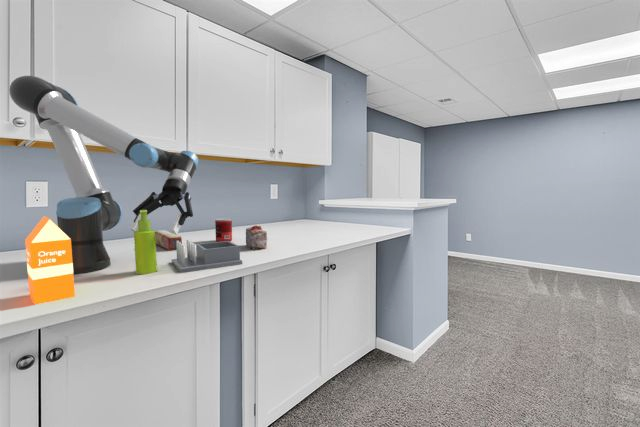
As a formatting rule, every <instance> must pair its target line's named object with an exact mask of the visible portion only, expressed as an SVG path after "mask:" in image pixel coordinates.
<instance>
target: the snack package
mask: <svg viewBox="0 0 640 427" xmlns="http://www.w3.org/2000/svg"><path fill="white" fill-rule="evenodd" d="M155 240H156V245H158V246H160V247H162V248H165V249H166V250H168V251H171V252H172V251H177V249H176V241H179V242H181V244H183V238H182V236H180V235H178V234H177V235H175V234H174V233H172V232H170V231H168V230H165V229H159V230H155Z"/></svg>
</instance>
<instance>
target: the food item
mask: <svg viewBox="0 0 640 427" xmlns="http://www.w3.org/2000/svg"><path fill="white" fill-rule="evenodd" d="M267 243H268V234H267V230H266V231H265V230H263V228H262V227H261V225H257V224H256V225H253V226H251V225H250V226H249V227H247V228H246V229H245V245H246V246H248V249H249V248H250V249H253V250H264V249H265V250H266V249H267Z"/></svg>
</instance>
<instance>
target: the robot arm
mask: <svg viewBox="0 0 640 427" xmlns="http://www.w3.org/2000/svg"><path fill="white" fill-rule="evenodd" d="M8 90H9V91H8V92H9V95H10V98H11V100H12V101H13V103H14V104H15V105H16V106H18V108H20V109H22V110H24V111H25V112H27V113H31V114H33V115H34V117H35V118H36V121H37V122H38V125H39V127H40V128H41V129H44V130H46V131H47V133H48V135H49V136H50V139H51V142H52V143H53V145H54V147H55V150H56V153H57V155H58V158H59V159H60V162H61V165H62V166H63V169H64V171H65V174H66V175H67V178H68V180H69V183H70V184H71V187H72V189H73V191H74V194H75V196H74V197H70V198H64V199H61V200H59V201H58V202H57V204H56V210H55V211H56V212H55V213H56V221H57V223H56V224H57V226H58V227H59V228H60V229H61V230H62V231H63V232H64V233H65V234H66V235H67V236H68V237H69V238H70V239H71V248H72V263H73V275H74V274H84V273H88V272H89V273H90V272H95V271H100V270H103V269H106V268H108V267H110V266H111V258H110V255H109V252H108V251H107V248H106V246H105V245H104V238H103V237H104V236H103V232H105V231H108V230H111V229H113V228H115V227H116V226H118V225H119V224H120V222H121V221H122V218H123V216H124V215H123V214H124V213H123V212H124V211H123V208H122V206H121V204H120V203H119V202H117V201H116V200H114V199H113V196H112V193H111V191H109V190H108V189H106V188H104V187H103V184H102V183H101V179H100V178H99V175H98V173H97V171H96V169H95V166H94V164H93V162H92V159H91V156H90V154H89V152H88V149H87V147H86V144H85V143H84V140H83V138H82V136H84V137H86V138H87V139H90V140H92V141H94V142H96V143H98V144H99V145H101V146H103V147H105V148H107V149H109V150H111V151H112V152H115V153H116V154H118V155H120V156H122V157H124V158H126V159H128V160H129V161H131V162H133V164H135V165H137V166H138V167H141V168H149V169H155V170H159V171H162V172H167V173H169V174H168V176H167V178H166V180H165V182H164V183H163V186H162V189H161V192H160V193H156V192H155V191H153V192H151V193H150V194H149V196H148V197H147V198H146V199H145V200H143V202H141V203H140V204H139V205H138V206H136V207H135V208H134V209H133V210H132V212H133V213H134V215H135V217H134V219H133V225H132V227H131V231H132V232H133V233H134V232H136V231H139V230H138V221H139V220H140V219H141V214H140V210H147V216H148V215H150V214H151V213H153V212H154V211H156V210H157V209H159V208H162V207H164V206H165V207H167V206H170V207H171V206H172V207H173V206H174V205H175V206H176V208H177V209H178V211H179V212H180V213H178V214H177V216H176V219H175V221H174V223H173V225H172V227H171V232H173V234H175V235H178V234H179V230H180V229H181V226H183V225H184V224H185V222H186V219H187V218H193V216H194V212H193V208H192V203H191V200H192V197H191V195H190V192H188V191H187V189H188V187H189V184H190V183H191V181H192V178H193V175H194V173H195V171H196V170H197V167H198V163H199V157H198V155H197V154H196V153H194V152H193V151H190V150H181V152H179V153H174V152H170V151H167V150H163V149H161V148H158V147H155V146H152V145H150V144H149V143H146V142H145V141H143V140H141V139H140V138H138V137H136V136H134V135H132V134H129V133H128V132H127V131H124V130H123V129H121V128H119V127H118V126H115V125H114V124H112V123H110V122H109V121H106V120H104V119H102V118H100V117H98V116H97V115H95V114H93V113H92V112H90V111H88V110H87V109H84V108H82V107H80V106H79V103H78V101H77V100H76V97H74V96H73V95H72V94H71V93H70V92H68V91H67V90H66V89H64V88H62V87H59V86H57V85H55V84H52V83H50V82H48V81H47V80H45V79H44V78H41V77H39V76H38V77H37V76H34V75H23V76H19V77H16V78H15V79H14V80H12V82H11V84H10V86H9V89H8ZM81 135H82V136H81ZM186 191H187V192H186ZM182 200H184V204H185V209H186V211H185V210H184V208H183V207H182V205H181V204H180V202H181V201H182Z"/></svg>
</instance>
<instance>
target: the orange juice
mask: <svg viewBox="0 0 640 427" xmlns="http://www.w3.org/2000/svg"><path fill="white" fill-rule="evenodd" d="M24 242H25V254H26V268H27V276H28V277H27V278H28V290H29V291H28V292H29V297H30V299H31V301H32V300H33V301H32V303H33V304H34V305H35V304H38V305H40V304H39V303H43V304H45V303H44V302H47V303H51V302H50V301H52V302H56V301H55V300H57V301H61V300H60V299H62V300H65V299H64V298H66V299H70V297H71V298H75V297H76V296H75V294H76V293H75V280H74V279H75V278H74V274H73V263H72V248H71V239H70V238H69V237H68V236H67V235H66V234H65V233H64V232H63V231H62V230H61V229H60V228H59V227H58V224H57V223H55V222H54V221H52V219H50V218H49V217H47V216H44V215H43V217H42V218H41V219H40V220H39V222H38V223H37V224H36V225H35V227H34V228H33V229H32V231H31V232H30V233H29V234H28V235H27V237H26V238H25V239H24ZM74 296H75V297H74Z"/></svg>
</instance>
